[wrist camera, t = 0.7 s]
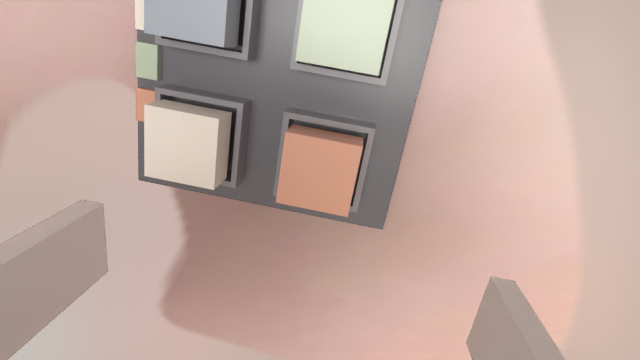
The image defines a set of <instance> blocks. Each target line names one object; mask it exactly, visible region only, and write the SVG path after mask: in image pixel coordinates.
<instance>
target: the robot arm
mask: <svg viewBox="0 0 640 360" xmlns="http://www.w3.org/2000/svg"><path fill="white" fill-rule="evenodd" d="M107 272H108V268H107V252H106V237H105V224H104V208H103V204H102V203H96V202H91V201H86V200H80V201H78V202H77V203H75V204H73V205H71V206H69V207H68V208H66V209H64V210H62V211H60V212H58V213H56V214H55V215H53V216H51V217H49V218H47V219H45V220H44V221H42V222H40V223H38V224H36V225H34V226H32V227H31V228H29V229H27V230H25V231H23V232H21V233H20V234H18V235H16V236H14V237H12V238H10V239H9V240H7V241H5V242H3V243H1V244H0V360H8V359H9V358H10V357H11V356H12V355H13V354H15V353H16V352H17V351H18V350H19V349H20V348H22V347H23V346H24V345H25V344H26V343H27V342H28V341H29V340H31V339H32V338H33V337H34V336H35V335H36V334H37V333H39V332H40V331H41V330H42V329H43V328H44V327H45V326H47V325H48V324H49V323H50V322H51V321H52V320H53V319H54V318H56V317H57V316H58V315H59V314H60V313H61V312H62V311H64V310H65V309H66V308H67V307H68V306H69V305H70V304H71V303H73V302H74V301H75V300H76V299H77V298H78V297H79V296H80V295H82V294H83V293H84V292H85V291H86V290H87V289H88V288H90V287H91V286H92V285H93V284H94V283H95V282H97V281H98V280H99V279H100V278H101V277H102V276H103V275H105V274H106V273H107ZM466 343H467V346H468V349H469V352H470V355H471V358H472V360H565V358H564V357H563V355H562V354H561V352H560V351H559V349H558V347H557V346H556V344H555V343H554V341H553V340H552V338H551V336H550V335H549V333H548V332H547V330H546V329H545V327H544V326H543V324H542V322H541V321H540V319H539V318H538V316H537V315H536V313H535V312H534V310H533V308H532V307H531V305H530V304H529V302H528V301H527V299H526V298H525V296H524V294H523V293H522V291H521V290H520V288H519V287H518V285H517V284H516V282H515V281H512V280H507V279H502V278H496V277H490V280H489V282H488V285H487V288H486V290H485V293H484V296H483V299H482V301H481V304H480V307H479V309H478V312H477V315H476V317H475V320H474V323H473V326H472V328H471V331H470V334H469V336H468V339H467V342H466Z"/></svg>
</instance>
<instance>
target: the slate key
mask: <svg viewBox="0 0 640 360" xmlns="http://www.w3.org/2000/svg"><path fill="white" fill-rule="evenodd" d="M240 9H241V0H144V33H148V34H153V35H159V36H164V37H169V38H175V39H180V40H186V41H191V42H197V43H202V44H208V45H213V46H219V47H237V45H238V33H239V21H240Z"/></svg>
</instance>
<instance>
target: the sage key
mask: <svg viewBox="0 0 640 360" xmlns="http://www.w3.org/2000/svg"><path fill="white" fill-rule="evenodd" d="M394 2H395V0H303V7H302V15H301V22H300V29H299V37H298V44H297V51H296V58H295V61H300V62H306V63H311V64H317V65H322V66H327V67H333V68H338V69H344V70H349V71H355V72H360V73H366V74H371V75H376V76H378V75H379V71H380V66H381V61H382V57H383V52H384V48H385V43H386V38H387V34H388V29H389V25H390V20H391V15H392V11H393V6H394Z"/></svg>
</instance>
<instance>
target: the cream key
mask: <svg viewBox="0 0 640 360" xmlns="http://www.w3.org/2000/svg"><path fill="white" fill-rule="evenodd" d="M231 117H232V112H227V111H222V110H217V109H211V108H206V107H201V106H196V105H191V104H185V103H180V102H175V101H170V100H164V99H163V100H159V101H156V102H152V103H148V104H144V176H147V177H152V178H157V179H162V180H167V181H172V182H177V183H182V184H186V185H191V186H196V187H201V188H206V189H211V190H214V189H215V188H216V187H218V186H219V185H220V184H221V183H222V182H223V181H224V180H225V179H226V178H227V166H228V154H229V141H230V129H231Z"/></svg>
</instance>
